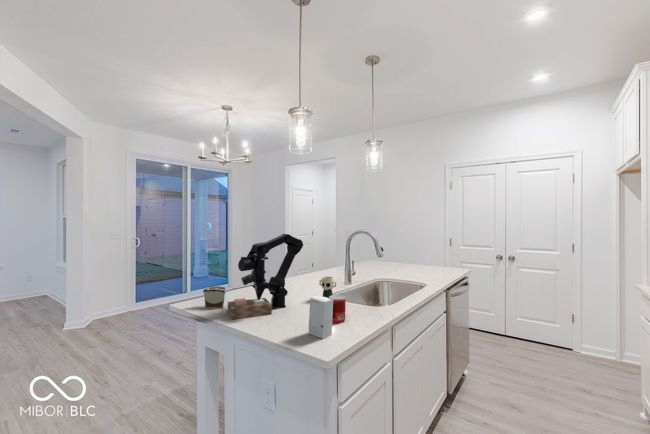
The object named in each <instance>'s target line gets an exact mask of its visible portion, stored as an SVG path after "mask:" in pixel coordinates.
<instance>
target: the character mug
mask: <svg viewBox="0 0 650 434" xmlns="http://www.w3.org/2000/svg"><path fill="white" fill-rule="evenodd" d="M318 282H319V286H321V288H322V289H323V290H322V291H323V292H322V297H327V298H329V296H332V295H334V294H333V289H334V288H336V287H337V281H335V277H333V276H322V277H321V279H320V280H319V281H318Z"/></svg>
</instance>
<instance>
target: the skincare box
mask: <svg viewBox="0 0 650 434" xmlns="http://www.w3.org/2000/svg"><path fill="white" fill-rule="evenodd" d="M322 296H323V295H322ZM322 296H321V295H316V296H315V295H314V296H311V297H309V312H308V334H309V335H312V336H314V337H318V338H319V339H322V340H323V339H325V338H329V337H330V336H332V335H333V334H332V332H333V323H332V316H333V299H329V298H327V297H322Z"/></svg>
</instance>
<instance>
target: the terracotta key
mask: <svg viewBox="0 0 650 434" xmlns="http://www.w3.org/2000/svg"><path fill="white" fill-rule="evenodd" d="M246 300H247V299H246V298H245V297H244V298H243V297H242V298H234V299H233V301H234V305H235V306H242V305H246Z"/></svg>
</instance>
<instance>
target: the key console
mask: <svg viewBox="0 0 650 434" xmlns="http://www.w3.org/2000/svg"><path fill="white" fill-rule="evenodd" d="M261 298H262V299H263V300H264V301H265V303H259V304H254V303H253V302H252V298H251V299H246V305H242V306H235V305H234V300H232V301H227V313H228V315H229V317H230V319H231V320H240V319H246V318H247V319H248V318H254V317H256V318H257V317H260V316H261V317H262V316H269V315H272V311H273V309H272V308H273V307H272V304H271V302H270V301H269V300H268V299H267V298H266V297H261Z"/></svg>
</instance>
